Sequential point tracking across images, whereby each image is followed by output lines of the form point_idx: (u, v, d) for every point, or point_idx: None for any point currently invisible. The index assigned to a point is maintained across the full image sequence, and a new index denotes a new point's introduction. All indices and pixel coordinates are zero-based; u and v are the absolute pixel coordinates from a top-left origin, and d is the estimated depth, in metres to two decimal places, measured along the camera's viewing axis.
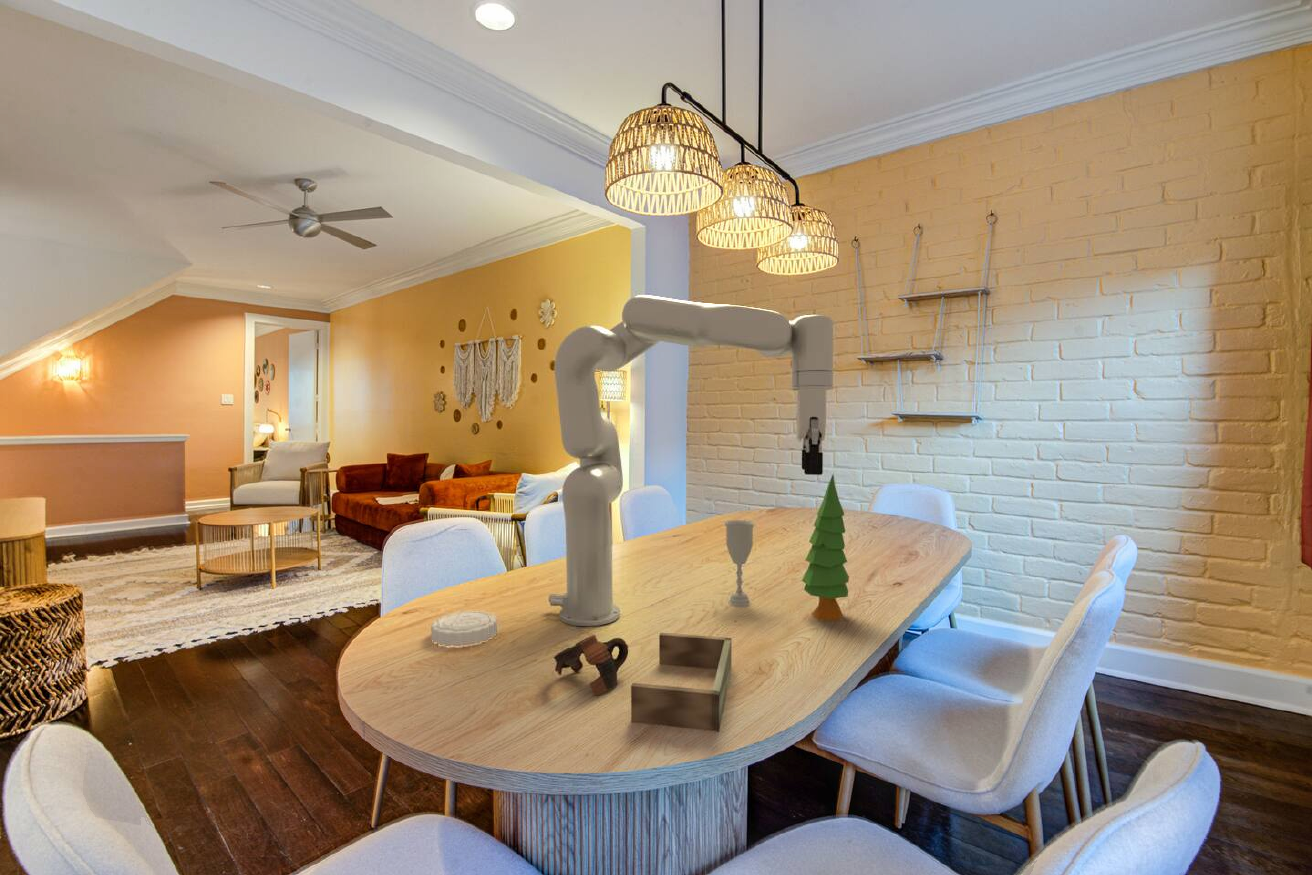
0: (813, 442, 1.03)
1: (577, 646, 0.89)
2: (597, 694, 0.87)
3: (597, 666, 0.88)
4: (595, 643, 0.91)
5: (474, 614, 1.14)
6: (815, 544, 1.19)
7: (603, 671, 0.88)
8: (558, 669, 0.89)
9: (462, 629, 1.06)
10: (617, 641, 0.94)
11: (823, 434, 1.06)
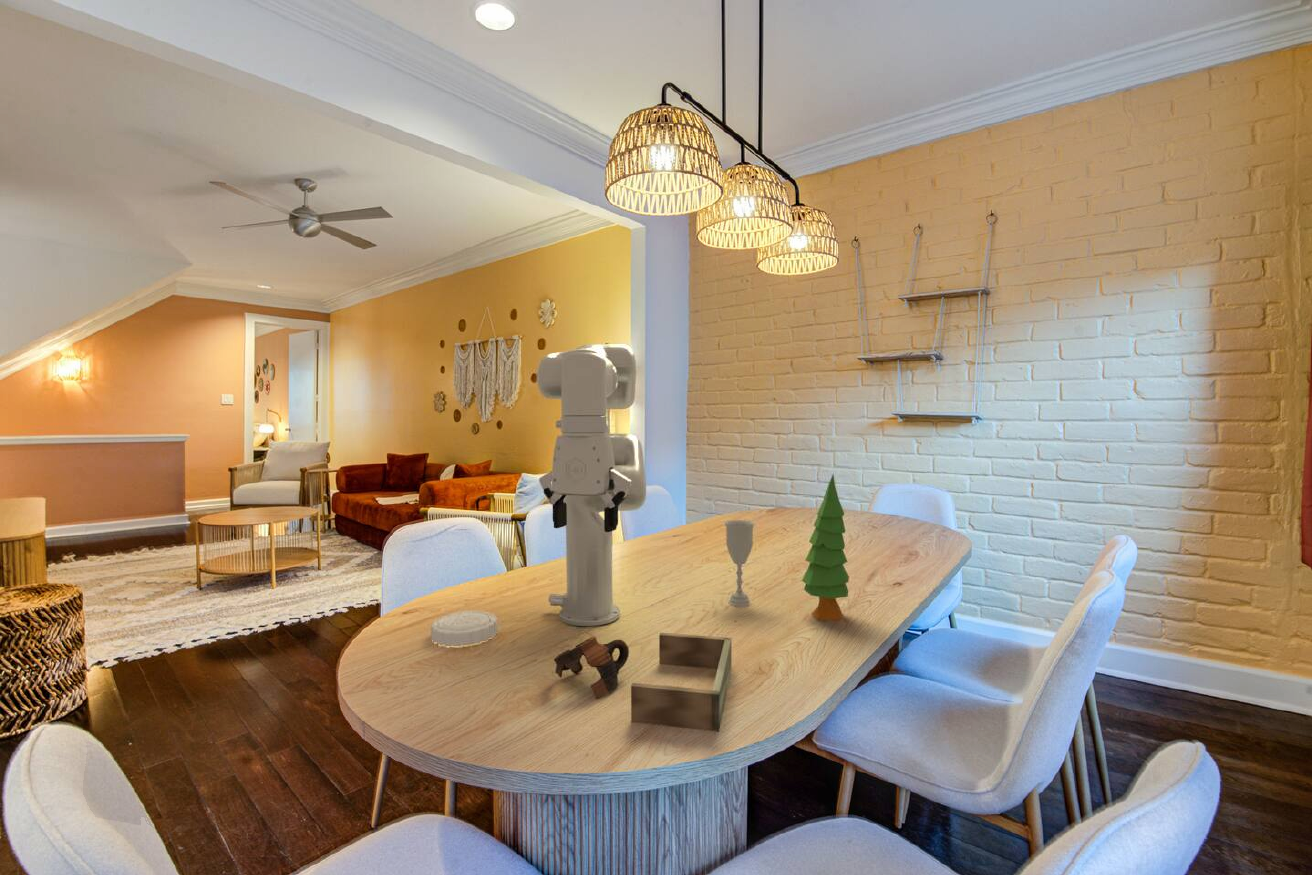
0: (625, 495, 0.95)
1: (577, 648, 0.88)
2: (598, 696, 0.86)
3: (598, 668, 0.87)
4: (596, 645, 0.91)
5: (474, 614, 1.14)
6: (815, 544, 1.19)
7: (604, 674, 0.88)
8: (558, 671, 0.88)
9: (462, 629, 1.06)
10: (617, 642, 0.93)
11: (614, 485, 0.98)
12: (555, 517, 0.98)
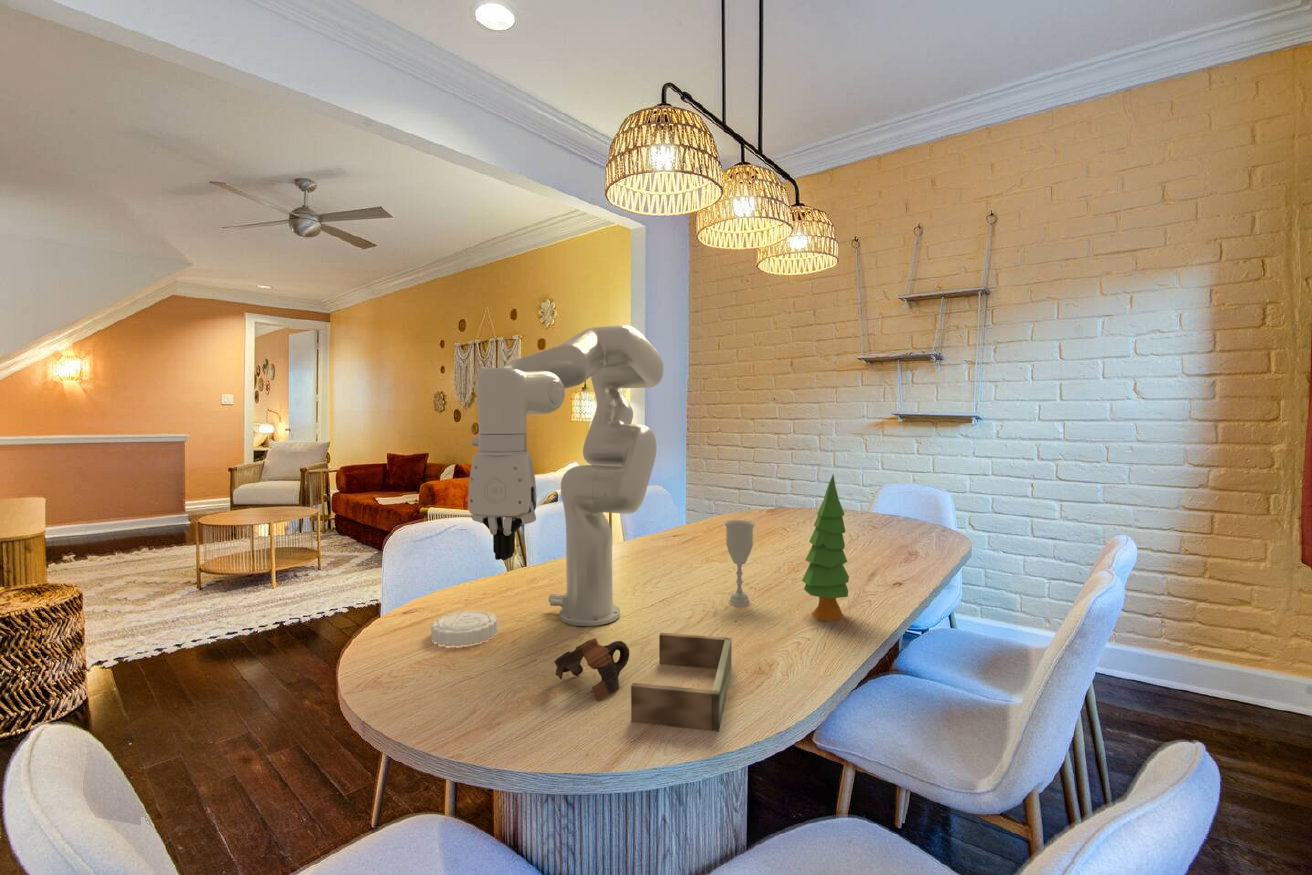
0: (520, 524, 0.94)
1: (578, 650, 0.88)
2: (599, 698, 0.86)
3: (599, 670, 0.87)
4: (596, 646, 0.90)
5: (474, 614, 1.14)
6: (815, 544, 1.19)
7: (605, 675, 0.87)
8: (559, 673, 0.87)
9: (462, 629, 1.06)
10: (618, 644, 0.92)
11: (535, 505, 0.95)
12: (497, 548, 0.93)
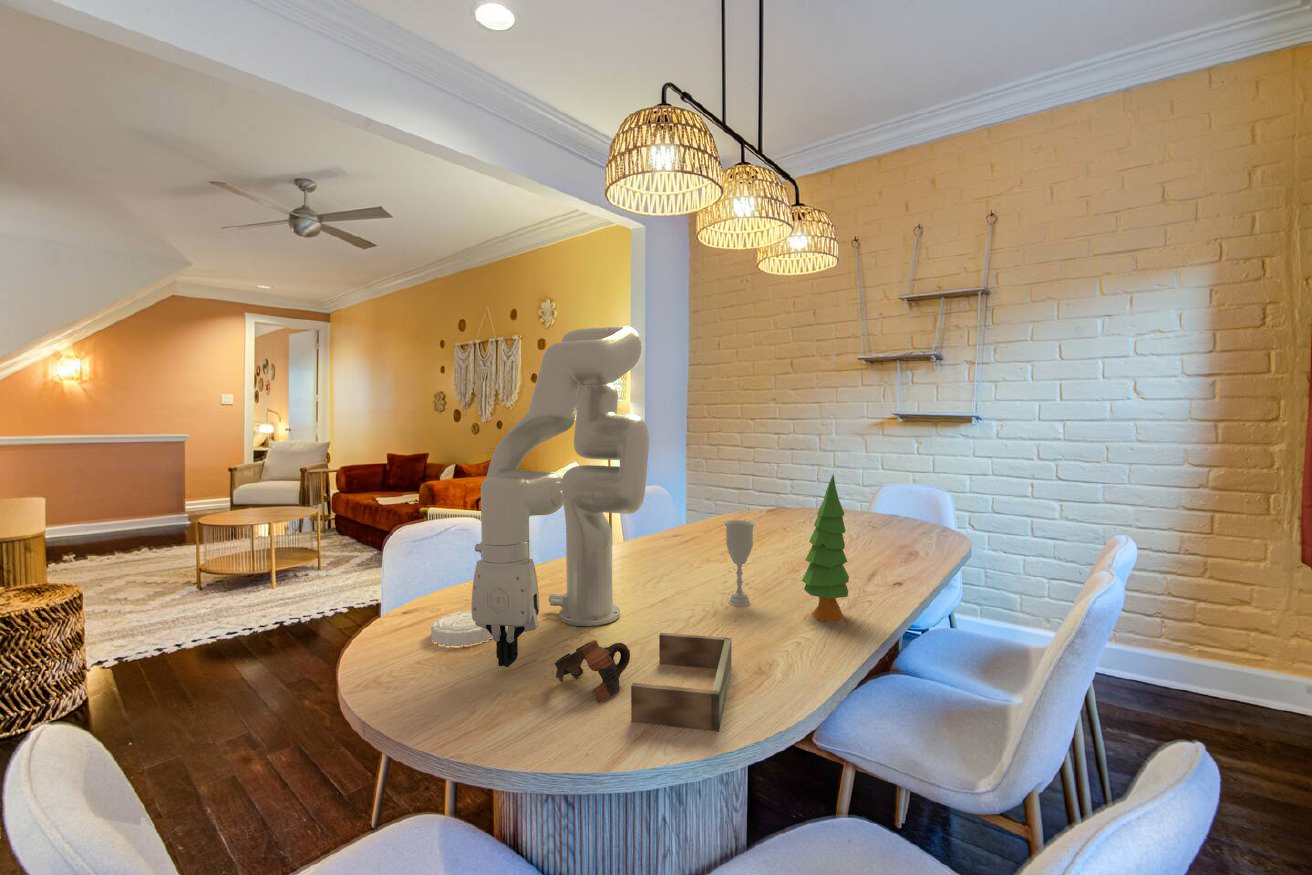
0: (523, 631, 0.94)
1: (579, 652, 0.87)
2: (600, 701, 0.85)
3: (600, 672, 0.86)
4: (597, 648, 0.89)
5: None
6: (815, 544, 1.19)
7: (606, 677, 0.86)
8: (559, 676, 0.87)
9: (462, 629, 1.06)
10: (618, 646, 0.92)
11: (538, 610, 0.96)
12: (500, 655, 0.94)
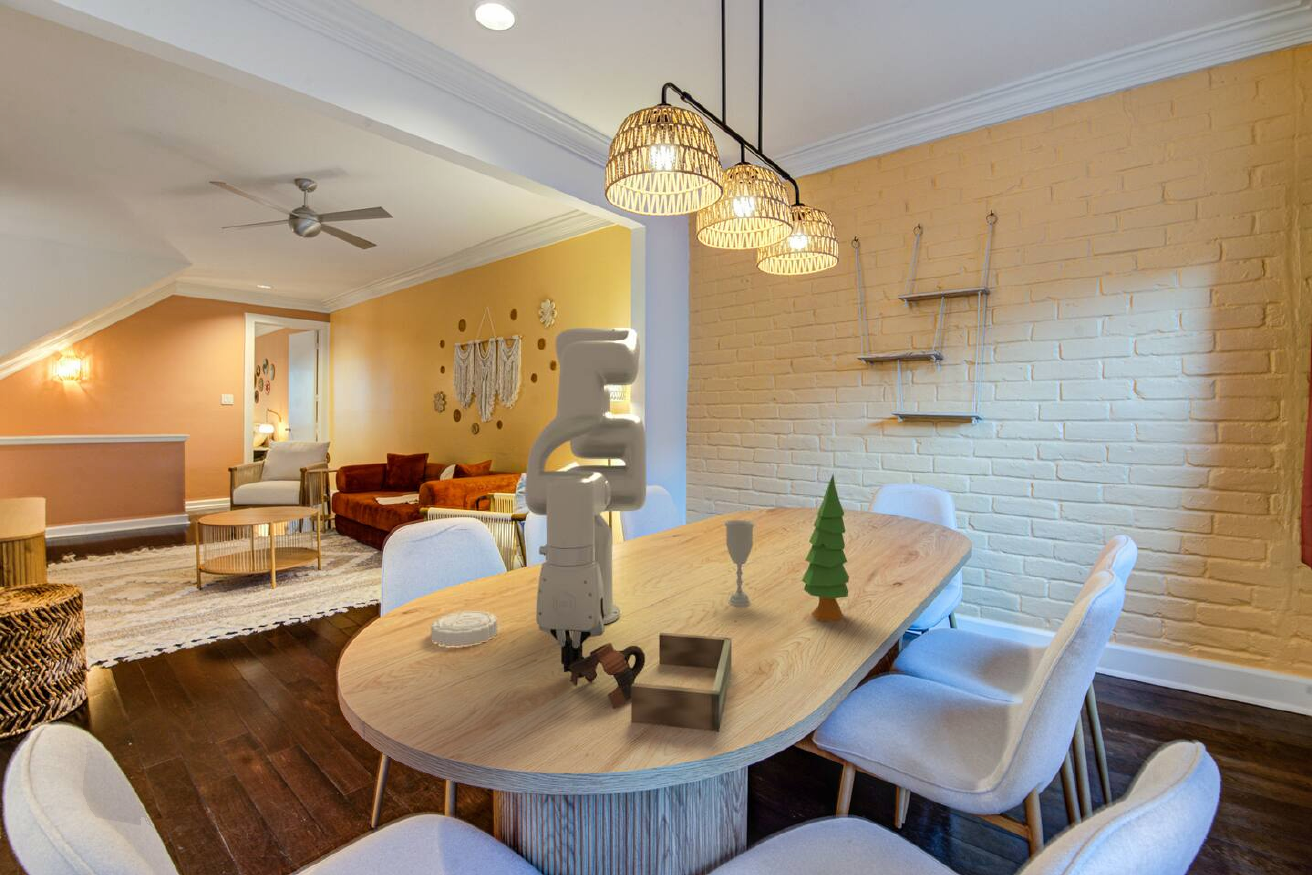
0: (589, 636, 0.92)
1: (594, 655, 0.85)
2: (615, 705, 0.83)
3: (615, 676, 0.84)
4: (612, 651, 0.88)
5: (474, 614, 1.14)
6: (815, 544, 1.19)
7: (621, 682, 0.85)
8: (574, 680, 0.85)
9: (462, 629, 1.06)
10: (633, 649, 0.90)
11: (603, 614, 0.93)
12: (565, 661, 0.91)
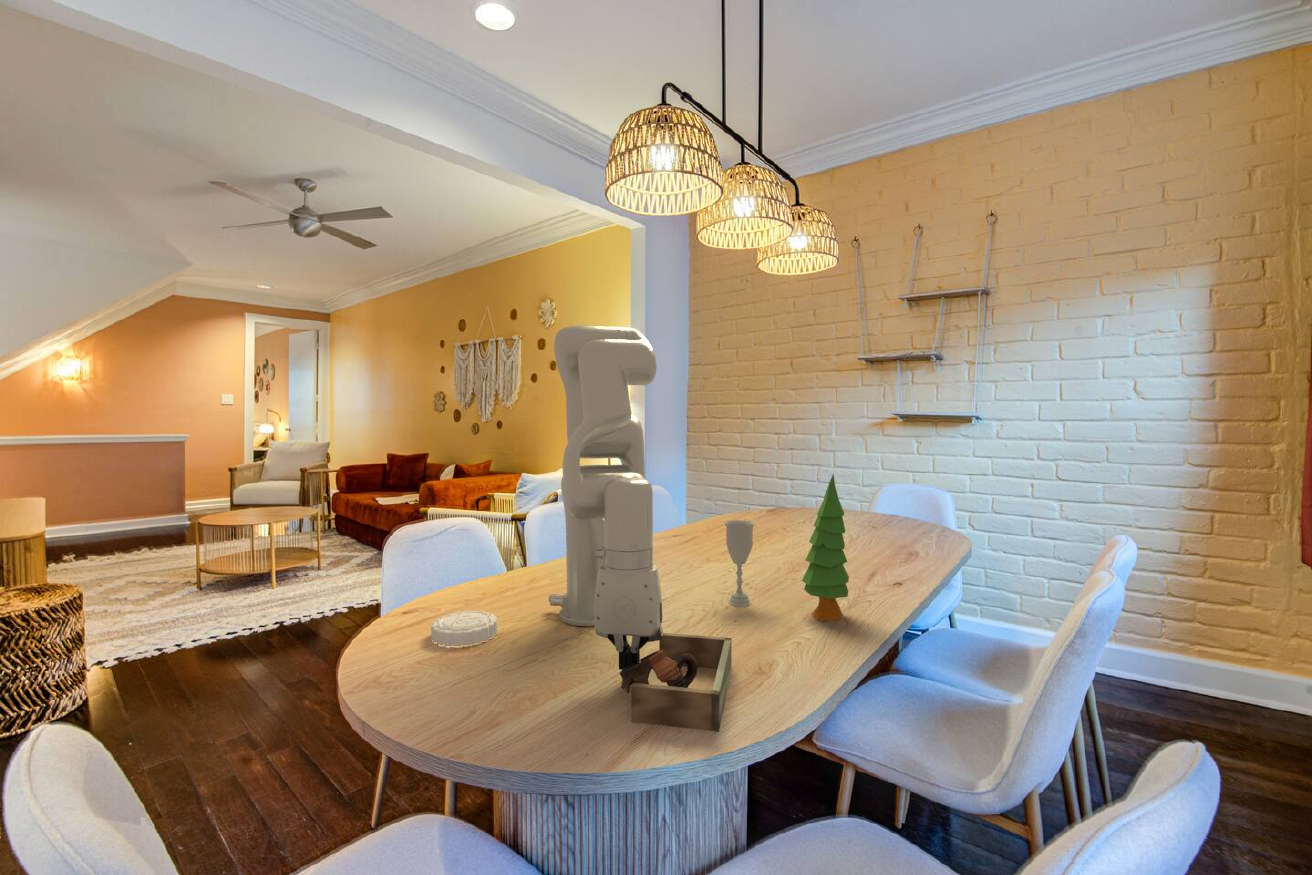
0: None
1: (646, 661, 0.83)
2: None
3: (669, 684, 0.82)
4: (664, 658, 0.85)
5: (474, 614, 1.14)
6: (815, 544, 1.19)
7: None
8: (626, 686, 0.82)
9: (462, 629, 1.06)
10: (686, 656, 0.87)
11: (661, 618, 0.91)
12: (623, 666, 0.90)
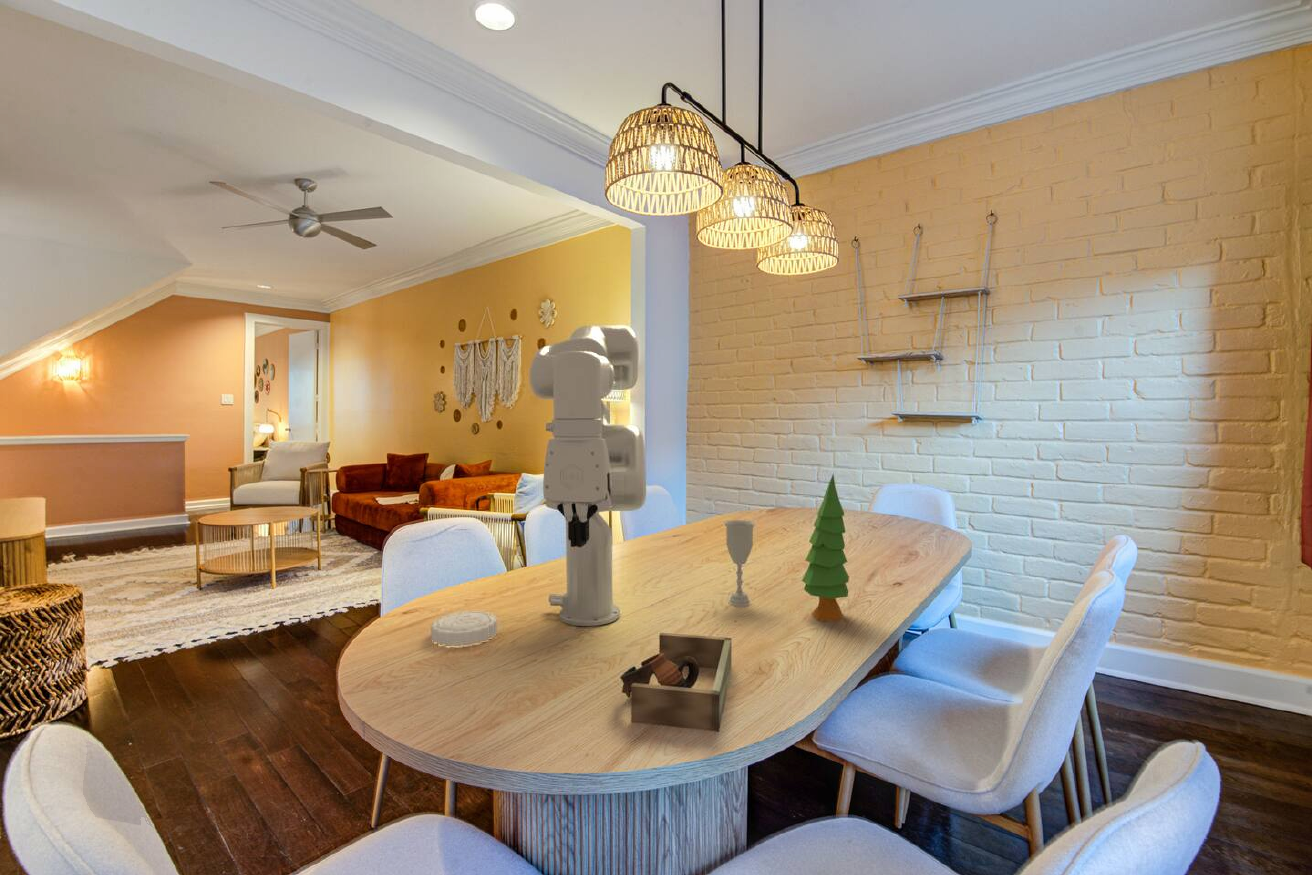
0: (596, 511, 0.92)
1: (647, 666, 0.82)
2: None
3: None
4: (665, 662, 0.84)
5: (474, 614, 1.14)
6: (815, 544, 1.19)
7: None
8: (627, 691, 0.82)
9: (462, 629, 1.06)
10: (687, 660, 0.86)
11: (610, 491, 0.93)
12: (572, 535, 0.92)
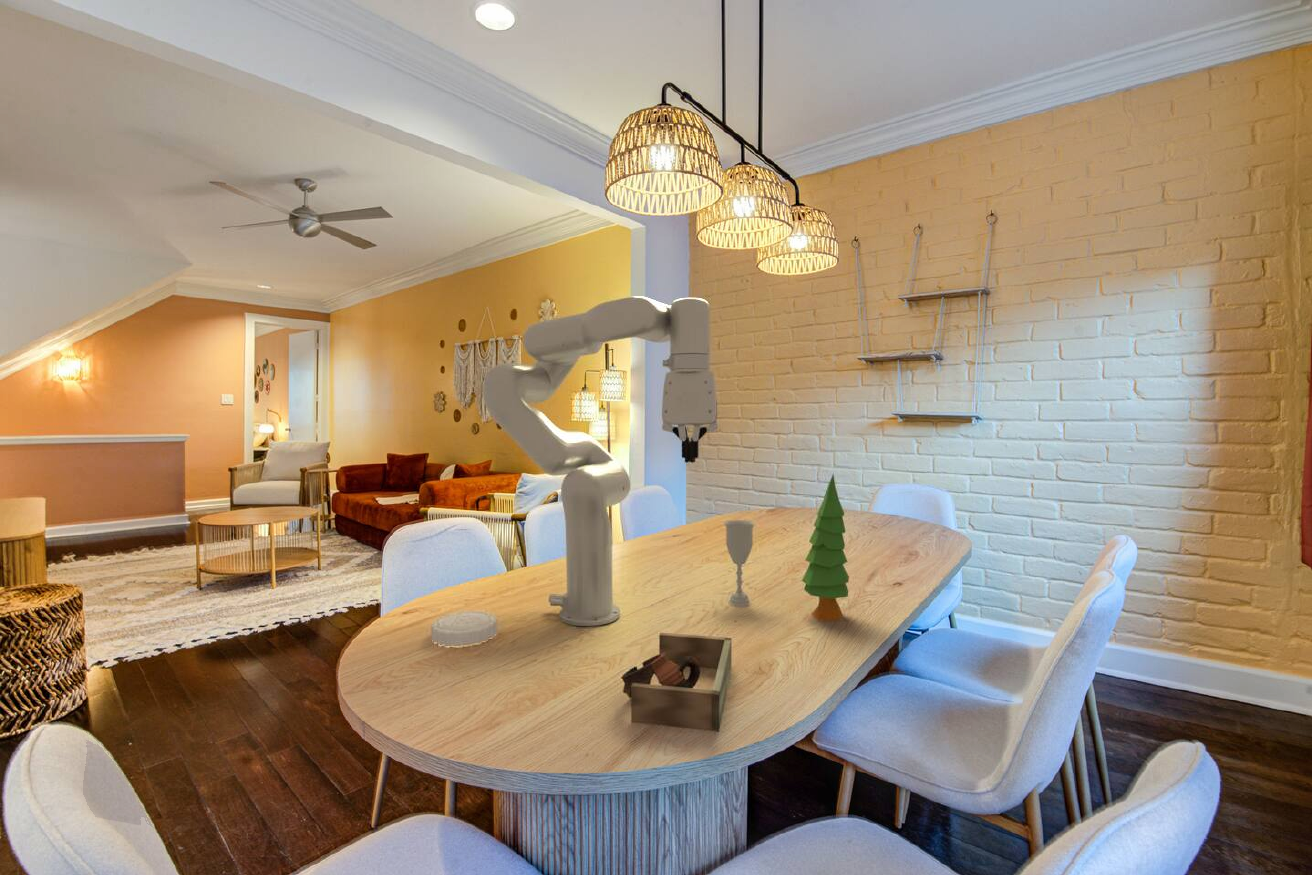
0: (705, 432, 1.10)
1: (648, 666, 0.82)
2: None
3: None
4: (667, 662, 0.84)
5: (474, 614, 1.14)
6: (815, 544, 1.19)
7: None
8: (628, 691, 0.82)
9: (462, 629, 1.06)
10: (688, 660, 0.86)
11: (716, 417, 1.11)
12: (686, 452, 1.10)
